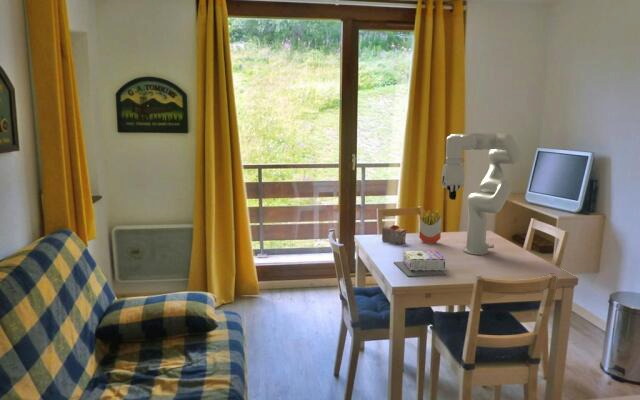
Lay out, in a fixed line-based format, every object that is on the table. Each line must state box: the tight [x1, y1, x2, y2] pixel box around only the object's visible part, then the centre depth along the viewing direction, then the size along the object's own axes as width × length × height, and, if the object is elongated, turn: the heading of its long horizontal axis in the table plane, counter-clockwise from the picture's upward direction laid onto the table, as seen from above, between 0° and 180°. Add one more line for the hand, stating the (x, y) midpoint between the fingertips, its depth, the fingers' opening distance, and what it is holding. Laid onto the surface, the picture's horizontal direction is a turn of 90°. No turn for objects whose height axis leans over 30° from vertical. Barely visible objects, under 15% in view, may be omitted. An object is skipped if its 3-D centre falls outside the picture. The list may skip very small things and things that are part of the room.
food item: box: [381, 224, 407, 245], centre depth 271 cm, size 14×8×10 cm, turn 48°
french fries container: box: [418, 209, 442, 245], centre depth 270 cm, size 5×11×18 cm, turn 55°
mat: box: [393, 261, 447, 278], centre depth 226 cm, size 18×20×1 cm
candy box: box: [402, 250, 446, 272], centre depth 227 cm, size 14×6×16 cm
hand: (452, 199), depth 234 cm, fingers closed
